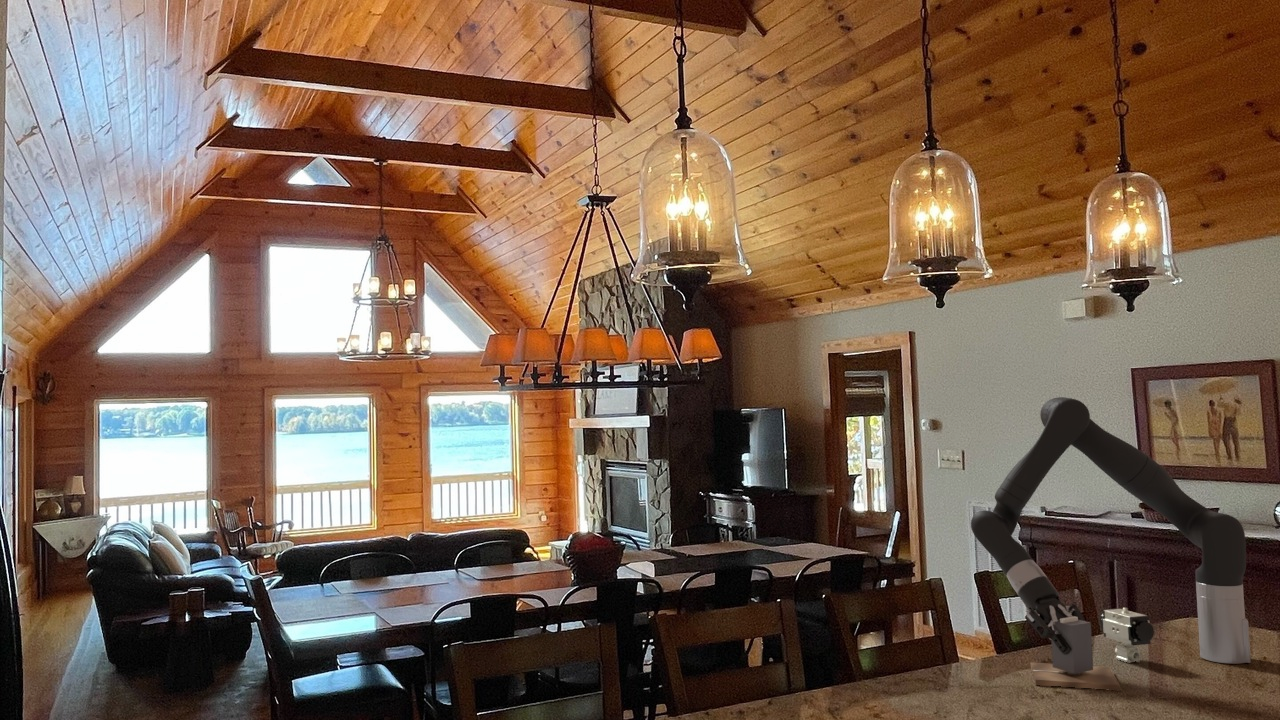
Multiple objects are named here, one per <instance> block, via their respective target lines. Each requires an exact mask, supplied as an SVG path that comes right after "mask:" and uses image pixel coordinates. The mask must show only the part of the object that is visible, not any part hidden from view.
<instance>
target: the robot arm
mask: <svg viewBox="0 0 1280 720" xmlns="http://www.w3.org/2000/svg"><path fill="white" fill-rule="evenodd" d="M1090 414H1091V413H1090V410H1089V408H1088V407H1087V406H1086V405H1085V404H1084V403H1083V402H1082V401H1080V400H1078V399H1076V398H1072V397H1065V396H1063V397H1062V396H1061V397H1060V396H1059V397H1058V396H1057V397H1054V398H1050V399H1048V400H1047V401H1045V403H1043V405H1042V407H1041V409H1040V415H1039V417H1040V421H1041V423H1042V425H1043V427H1044V428H1043V430H1042V432H1041V434H1040V435H1039V437H1038V439H1037V440H1036V441H1035V443H1034V444H1033V446H1031V448H1030V449H1029V450H1028V451H1027V453H1026V454H1024V456H1023V457H1022V458H1021V459H1019V461H1017V463H1015V465H1014V466H1013V467H1012V468H1011V470H1010V471H1009V472H1008V474H1007V475H1006V476H1005V478H1004V479H1003V481H1002V483H1001V484H1000V485H999V487H998V488H997V490H996V492H995V494H994V501H996V504H995V506H994V509H993V510H992V511H991V510H986V509H985V510H983V509H982V510H980V511H978V512H975V513H974V514H973V516H972V517H971V520H970V528H971V531H972V533H973V535H974V537H975V538H976V539H977V541H978V542H979V543H980V545H982V546H983V547H984V549H985V550H986V551H987V552H988V553H989V554H990V556H992V558H993V559H994V560H995V562H996V563H997V565H998V566H999V568H1000V569H1001V571H1002V573H1003V574H1004V575H1005V576H1006V578H1007V580H1008V581H1009V583H1010V585H1011V587H1012V588H1013V590H1014V591H1015V592H1016V594H1017V596H1018V597H1019V598H1020V600H1021V601H1022V603H1023V604H1024V606H1025V607H1026V609H1028V613H1027V614H1026V615H1025V616H1024V618H1025V620H1026V622H1028V623H1029V624H1030V626H1031V627H1032V628H1033V629H1034V631H1035V632H1037V634H1038V635H1039V636H1040V638H1042V639H1043V640H1044V639H1046V638H1047V639H1049V640H1050V641H1051V640H1053V642H1054V643H1055V644H1056V646H1057V647H1058V649H1059V650H1060V651H1061V652H1062V653H1063V654H1064V655H1066V654H1068V653H1069V652H1070V651H1071V647H1070V646H1069V644H1068V643H1067V641H1066V640H1065V639H1064V637H1063V636H1062V634H1060V632H1059V630H1058V628H1057V627H1056V625H1055V624H1056V623H1055V621H1058V619H1061V618H1068V617H1074V616H1075V617H1078V620H1082V621H1086V620H1085V618H1084V616H1083V615H1082V613H1081V611H1080V610H1079V607H1078V606H1077V604H1075V603H1071V604H1070V605H1065V604H1064V603H1063V602H1062V601H1061V600H1060V599H1059V598H1060V597H1059V592H1058V590H1057V589H1056V587H1055V586H1054V585H1053V583H1052V581H1051V580H1050V578H1048V576H1047V575H1046V574H1045V573H1044V570H1042V568H1041V567H1040V566H1039V565H1038V564H1037V563H1036V562H1035V560H1034V559H1033V558H1032V556H1031V555H1030V554H1029V553H1028V551H1027V550H1026V549H1025V547H1024V546H1023V544H1021V543H1019V542H1018V541H1017V540H1015V538H1014V537H1013V534H1014V532H1015V530H1016V527H1017V524H1018V523H1019V520H1020V517H1021V514H1022V511H1023V509H1024V508H1025V507H1026V505H1027V503H1028V502H1029V501H1030V499H1031V498H1032V497H1033V495H1034V493H1035V492H1036V490H1037V489H1038V487H1039V486H1040V485H1041V483H1042V481H1044V479H1045V477H1046V476H1047V474H1048V473H1049V471H1050V470H1051V469H1052V467H1053V466H1054V465H1055V464H1056V462H1057V461H1059V459H1060V458H1061V456H1062V455H1063V454H1064V453H1065V452H1066V450H1068V449H1069V447H1070V446H1072V447H1073V448H1075V449H1077V450H1078V451H1080V452H1081V453H1082V454H1084V455H1085V456H1086V457H1087V458H1088V459H1089V460H1090V461H1091V462H1092V463H1093V464H1095V466H1097V467H1098V468H1099V469H1100V470H1101V471H1102V472H1103V473H1104V474H1106V475H1107V476H1108V477H1109V478H1111V480H1113V481H1114V482H1115V483H1117V484H1118V485H1119V486H1120V487H1122V489H1124V490H1125V491H1126V492H1128V493H1129V494H1131V495H1132V496H1134V497H1135V498H1136V499H1138V500H1139V501H1140V502H1142V503H1143V504H1144V505H1146V506H1148V507H1149V508H1151V509H1153V511H1156V513H1159V514H1160V515H1161V516H1163V517H1164V518H1165V519H1167V521H1169V522H1170V523H1171V524H1172V525H1173V526H1174V527H1175V528H1176V529H1177V530H1179V532H1181V533H1182V534H1183V535H1184V536H1185V537H1186V538H1187V539H1188V540H1189V541H1190V543H1192V544H1193V545H1195V546H1196V547H1198V548H1199V549H1201V550H1202V554H1201V555H1202V560H1201V565H1200V566H1199V567H1197V568H1196V569H1195V571H1194V574H1195V589H1196V606H1197V607H1196V608H1197V623H1198V625H1197V626H1198V627H1197V628H1198V640H1199V642H1198V643H1199V647H1198V649H1199V656H1200V658H1201V659H1204V660H1207V661H1210V662H1214V663H1220V664H1233V665H1234V664H1236V665H1237V664H1245V663H1246V664H1247V663H1248V664H1250V663H1251V662H1252V661H1251V660H1252V659H1251V649H1250V645H1251V644H1250V629H1249V621H1248V619H1247V618H1246V611H1245V598H1244V597H1245V596H1244V581H1243V580H1244V575H1245V573H1246V569H1247V552H1246V551H1247V547H1246V546H1247V543H1246V534H1245V529H1244V527H1243V525H1242V523H1241V522H1240V521H1239V520H1238V519H1237V518H1236V517H1234V516H1233V515H1230V514H1226V513H1223V512H1217V511H1213V510H1211V509H1210V508H1207V507H1205V505H1202V504H1201V503H1199V502H1198V501H1197V500H1195V499H1193V498H1192V497H1190V496H1189V495H1188V494H1186V492H1184V490H1182V489H1181V487H1179V485H1178V484H1177V483H1176V481H1175V480H1174V478H1173V477H1172V476H1171V475H1170V473H1169V472H1168V471H1167V470H1166V469H1165V468H1164V467H1162V466H1161V464H1159V463H1157V462H1156V461H1155V460H1154V459H1152V457H1150V456H1149V455H1147V454H1146V453H1144V452H1143V451H1142V450H1140V449H1138V448H1137V447H1135V446H1133V445H1132V444H1130V443H1129V442H1127V441H1125V440H1124V439H1121V438H1120V437H1117V436H1115V435H1113V434H1111V433H1110V432H1108V431H1106V430H1105V429H1104V428H1102V427H1101V426H1099V425H1098V424H1097V423H1096V422H1095V421H1094V420H1093V419H1092V418H1091V415H1090ZM1050 620H1051V622H1050ZM1051 628H1052V629H1053V630H1051ZM1059 634H1060V635H1059Z"/></svg>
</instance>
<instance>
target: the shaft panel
mask: <svg viewBox="0 0 1280 720" xmlns="http://www.w3.org/2000/svg"><path fill="white" fill-rule="evenodd" d="M1030 669H1031V670H1030V671H1031V673H1033V674H1032V677H1033V681H1034V683H1035V684H1036V685H1040V686H1039V687H1051V686H1061V687H1060V688H1066V687H1075V688H1074V689H1081V688H1097V689H1109V690H1108V691H1111V690H1120V691H1121V685H1120V683H1119V681H1118V679H1117V678H1116V676H1115V674H1114V673H1113V671H1112V669H1111V667H1110V666H1099V665H1098V666H1097V665H1096V666H1095V665H1093V670H1091V671H1085V672H1080V673H1075V674H1074V673H1071V672H1067V671H1064V670H1061V669H1057V668H1054V667H1053V664H1052V663H1046V662H1032V661H1031V662H1030ZM1036 685H1035V686H1036Z"/></svg>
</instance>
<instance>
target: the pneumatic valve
mask: <svg viewBox="0 0 1280 720" xmlns="http://www.w3.org/2000/svg"><path fill="white" fill-rule="evenodd" d="M1099 625H1100V628H1101V629H1100V630H1101V633H1103V637H1104V638H1107V639H1110V640H1113V641H1114V640H1115V641H1116V642H1117V643H1119V644H1116V645H1115V648H1114V649H1115V650H1114V653H1115V654H1116V657H1115V658H1116V660H1117V659H1118V661H1120V660H1121V662H1123V661H1124V663H1126V662H1127V663H1126V664H1131V663H1135V661H1136V663H1140V662H1141V653H1140V648H1139V647H1138V646H1141V645H1142V646H1144V645H1150V644H1151V641H1152V639H1153V638H1154V635H1155V629H1154V627H1153V625H1152V623H1151V622H1150V616H1149V615H1147V614H1143V613H1139V612H1134V611H1131V610H1128V607H1122V608H1110V609H1109V608H1108V609H1102V614H1101V615H1100V617H1099ZM1120 643H1123V644H1120Z"/></svg>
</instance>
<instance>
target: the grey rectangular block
mask: <svg viewBox="0 0 1280 720" xmlns="http://www.w3.org/2000/svg"><path fill="white" fill-rule="evenodd" d="M1050 622H1051V620H1050ZM1055 623H1056V624H1055V625H1056V627H1057V628H1058V630H1059V632H1060V634H1062V636H1063V637H1064V639H1065V640H1066V641H1067V643H1068V644H1069V646H1070V647H1071V651H1070V652H1069V653H1068V654H1066V655H1064V654H1063V653H1062V652H1061V651H1060V650H1059V649H1058V647H1057V646H1056V644H1055V643H1054V642H1053V640H1050V642H1051V643H1050V644H1051V657H1052V659H1051V661H1052V663H1051V664H1053V667H1054V668H1057V669H1061V670H1064V671H1067V672H1071V673H1074V674H1075V673H1080V672H1085V671H1091V670H1093V666H1094V663H1093V659H1094V658H1093V641H1092V640H1093V639H1092V623H1091V622H1090V621H1086V620H1085V621H1082V620H1078V617H1075V616H1074V617H1068V618H1061V619H1058V621H1055ZM1051 630H1053V629H1052V628H1051ZM1060 634H1059V635H1060Z"/></svg>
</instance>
